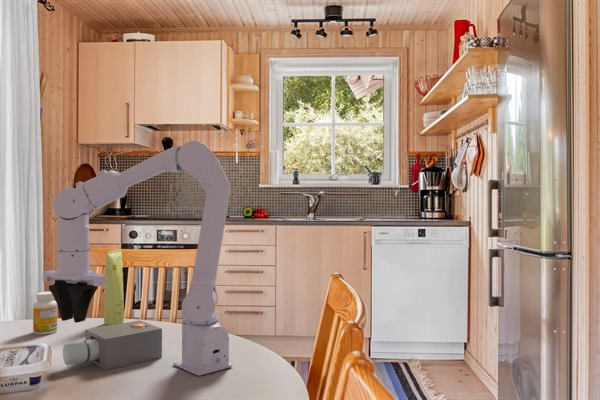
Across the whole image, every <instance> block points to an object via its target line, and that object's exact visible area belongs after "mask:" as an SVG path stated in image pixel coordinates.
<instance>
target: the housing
mask: <svg viewBox="0 0 600 400" xmlns="http://www.w3.org/2000/svg"><path fill="white" fill-rule="evenodd" d="M134 324H145V327H143V328H138V329H135V328H133V325H134ZM84 332H85V333H84V335H85V337H84V340H91V339H99V340H100V359H96V360H91V363H92V364H94V365H95V366H97V367H99V368H100V369H102V370H104V371H108V370H114V369H117V368H121V367H126V366H130V365H133V364H138V363H143V362H147V361H152V360H156V359H161V358H162V357H163V329H162V327H158V326H156V325H153V324H150V323H147V322H145V321H143V320H140V319H139V320H134V321H128V322H123V323H121V324H115V325H104V326H99V327H97V326H96V327H93V328H87V329H84Z"/></svg>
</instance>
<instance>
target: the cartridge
mask: <svg viewBox="0 0 600 400" xmlns="http://www.w3.org/2000/svg"><path fill="white" fill-rule="evenodd" d="M62 358H63V363H64V364H65V365H66V366H72V365H76V364H81V363H86V362H90V361H91V360H96V359H100V340H99V339H91V340H85V339H84V340H82V341H75V342H72V343H71V342H70V343H65V344H64V345H63V348H62Z"/></svg>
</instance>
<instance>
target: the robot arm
mask: <svg viewBox="0 0 600 400" xmlns="http://www.w3.org/2000/svg"><path fill="white" fill-rule="evenodd" d="M183 171H184V172H186V174H189V176H191V177H193V179H195V180H196V181H197V182H198V184H199V186H201V188H202V189H203V190H204V191H205V198H204V199H205V200H204V206H203V212H202V218H201V219H202V220H201V225H200V230H199V237H198V242H197V243H198V244H197V249H196V255H195V261H194V267H193V271H192V277H191V280H190V284H189V289H188V293H187V294H186V295H185V297H184V298H183V300H182V302H181V312H182V315H183V317H182V318H181V359H180V360H179V359H178V360H175V361H173V363H172V364H173V366H175V367H178V368H180V369H182V370H185V371H186V372H189V373H190V374H194V375H196V376H203V375H208V374H210V373H214V372H217V371H222V370H225V369H229V368H232V367H233V363H230V362H229V361H230V355H229V354H230V353H229V352H230V351H229V350H230V345H229V344H230V342H229V341H230V338H229V333H228V330H227V329H226V328H224V327H223V326H222V325H221V323H220V317H219V315H218V314H217V313H216V311H215V310H216V306H217V304H218V300H219V297H218V296H219V295H218V291H217V289H216V284H217V276H218V269H219V263H220V255H221V250H222V245H223V237H224V232H225V225H226V219H227V213H228V208H229V200H230V195H231V183H230V181H229V179H228V176H227V174H226V172H225V170H224V168H223V166H222V164H221V162H220V160H219V158H218V157H217V156H216V154H215V153H214V152H213V151H212V150H211V149H210V148H209V147H208V146H207V145H206V144H205V143H203V142H201V141H198V140H190V141H189V140H188V141H186V142H184V143H183V144H182V145H175V146H172V147H171V148H168V149H166V150H165V149H164V150H163V151H161V152H159V153H157V154H155V155H153V156H152V157H149V158H146V159H145V160H143V161H142V162H140V163H137V164H135V165H133V166H131V167H129V168H128V169H125V170H123V171H121V172H118V171H116V170H113V169H111V170H108V171H107V170H105V169H102V170H100V171H98V172H97V174H98V175H97V176H95V177H92V178H90V179H88V180H86V181H83V182H82V181H78V182H76V183H75V188H73V187H64V188H62V190H60V191H58V192H57V193H56V194H55V196H54V198H53V200H52V208H53V210H54V212H55V214H56V215H57V227H56V229H57V230H56V231H57V236H56V238H57V239H56V241H57V242H56V243H57V245H56V246H57V249H56V252H57V254H56V256H57V257H56V258H57V261H56V265H57V266H56V267H57V270H52V269H50V270H46V271H45V270H44V271H42V281H43V282H54V283H53V284H50V285H48V290H49V292H51V293H52V295H53V296H54V301H56V303H57V310H58V312H59V317H60V319H61V321H63V322H64V321H68V320H72V319H73V322H74V323H76V324H77V323H81V322H84V321H86V319H87V315H88V311H89V307H90V304H91V301H92V299H93V297H94V295H95V293H96V292H97V290H98V288H99V287H101V286H105V274H100V273H96V272H93V270H90V214H91V213H92V212H93V211H94V210H98V209H100V208H102V207H104V206H107V205H110V204H111V203H113V202H115V201H118V200H119V199H122V198H124V197H125V196H126V195H127V192H128V189H129V188H130V187H132V186H135V185H137V184H140V183H141V182H144V181H146V180H148V179H151V178H153V177H155V176H158V175H161V174H162V173H165V172H173V173H175V172H176V173H182V172H183Z"/></svg>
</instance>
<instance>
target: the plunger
mask: <svg viewBox="0 0 600 400" xmlns="http://www.w3.org/2000/svg"><path fill="white" fill-rule="evenodd" d="M143 327H145V324H134V325H133V328H135V329H138V328H143Z"/></svg>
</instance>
